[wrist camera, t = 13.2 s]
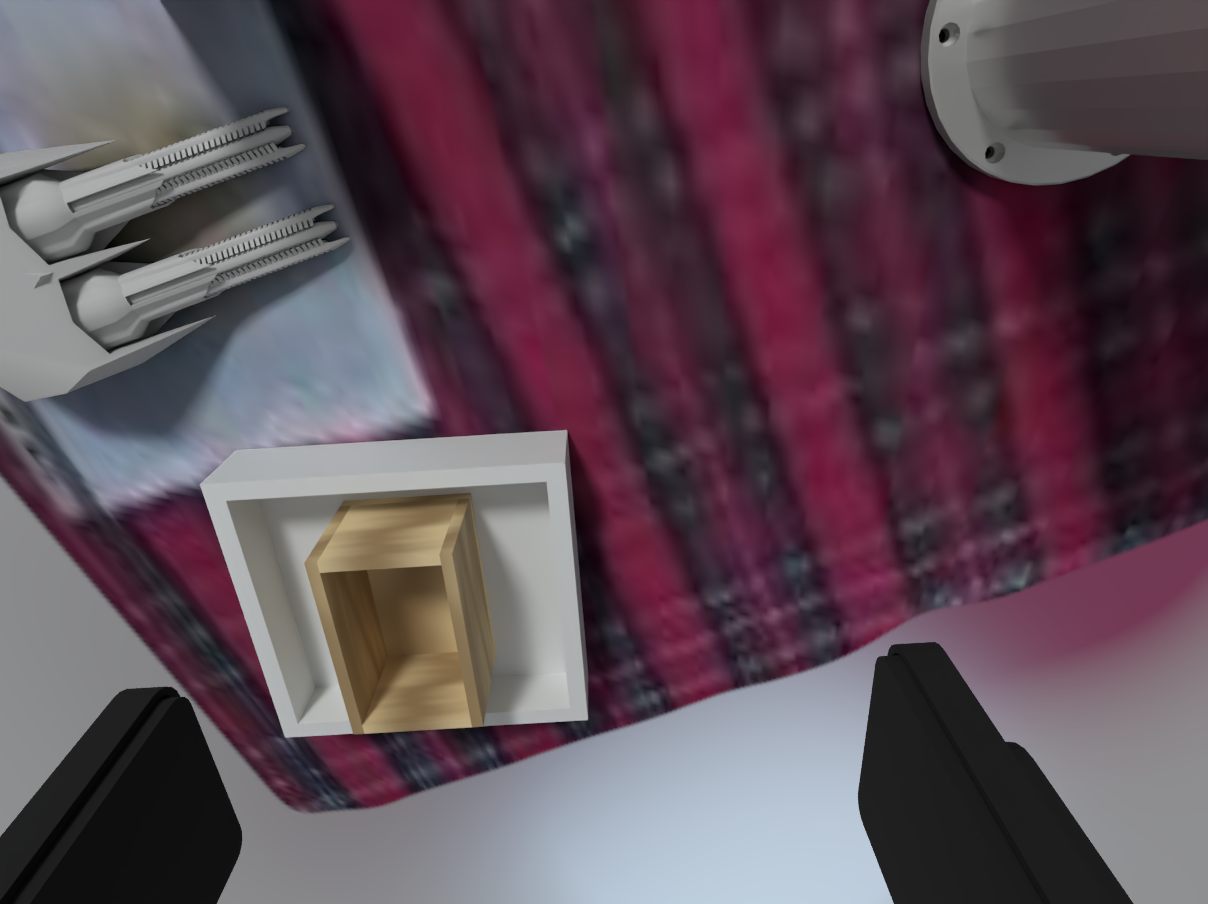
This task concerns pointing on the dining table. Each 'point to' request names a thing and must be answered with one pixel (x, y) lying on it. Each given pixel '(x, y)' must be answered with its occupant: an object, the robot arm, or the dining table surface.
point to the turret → (118, 289)
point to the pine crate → (406, 612)
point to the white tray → (407, 469)
